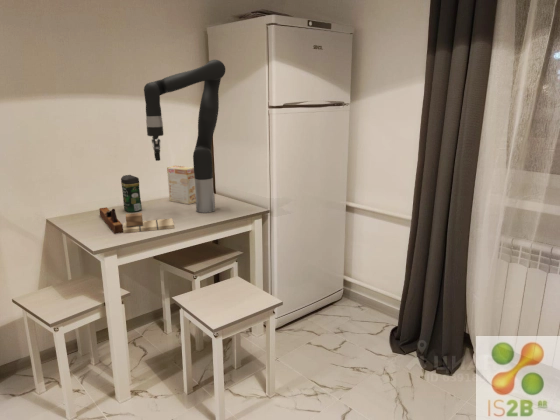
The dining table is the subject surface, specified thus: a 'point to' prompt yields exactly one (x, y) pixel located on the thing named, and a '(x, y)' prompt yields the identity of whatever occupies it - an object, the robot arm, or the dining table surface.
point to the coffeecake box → (181, 184)
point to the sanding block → (134, 220)
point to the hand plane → (111, 220)
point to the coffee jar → (131, 193)
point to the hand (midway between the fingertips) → (157, 159)
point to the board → (150, 226)
